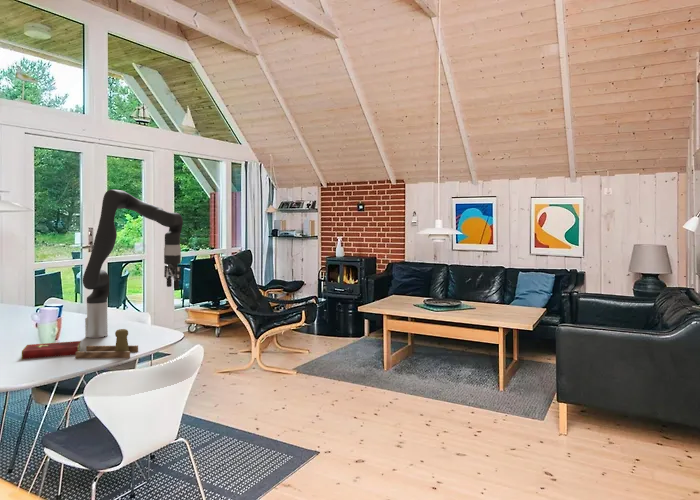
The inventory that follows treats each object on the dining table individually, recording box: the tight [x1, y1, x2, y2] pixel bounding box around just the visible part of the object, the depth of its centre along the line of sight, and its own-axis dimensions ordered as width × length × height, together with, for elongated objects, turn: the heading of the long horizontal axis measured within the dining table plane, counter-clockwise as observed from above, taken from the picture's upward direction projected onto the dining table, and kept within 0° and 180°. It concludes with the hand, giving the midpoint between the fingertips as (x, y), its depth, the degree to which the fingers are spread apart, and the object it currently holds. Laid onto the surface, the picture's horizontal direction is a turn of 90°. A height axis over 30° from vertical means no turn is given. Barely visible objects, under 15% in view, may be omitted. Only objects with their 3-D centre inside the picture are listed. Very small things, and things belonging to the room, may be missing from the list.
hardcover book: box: [21, 340, 82, 360], centre depth 220 cm, size 12×21×4 cm, turn 113°
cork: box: [114, 328, 129, 351], centre depth 220 cm, size 6×6×11 cm
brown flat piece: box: [75, 344, 139, 359], centre depth 220 cm, size 22×11×2 cm, turn 94°
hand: (172, 287), depth 243 cm, fingers open, 8 cm apart
